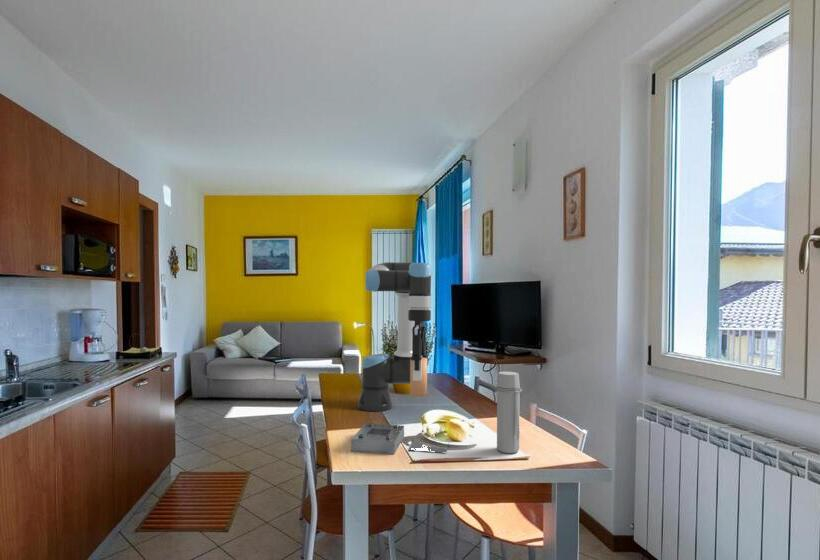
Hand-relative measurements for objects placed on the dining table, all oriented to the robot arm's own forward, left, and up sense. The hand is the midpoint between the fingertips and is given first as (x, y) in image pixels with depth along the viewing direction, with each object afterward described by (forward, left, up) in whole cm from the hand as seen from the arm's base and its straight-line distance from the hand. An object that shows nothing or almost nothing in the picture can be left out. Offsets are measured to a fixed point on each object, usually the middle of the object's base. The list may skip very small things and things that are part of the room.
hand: (418, 378), depth 153 cm
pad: (-1, +4, -22) cm, 23 cm away
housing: (0, -13, -22) cm, 26 cm away
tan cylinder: (0, 0, -5) cm, 5 cm away
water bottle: (-1, +30, -22) cm, 37 cm away
